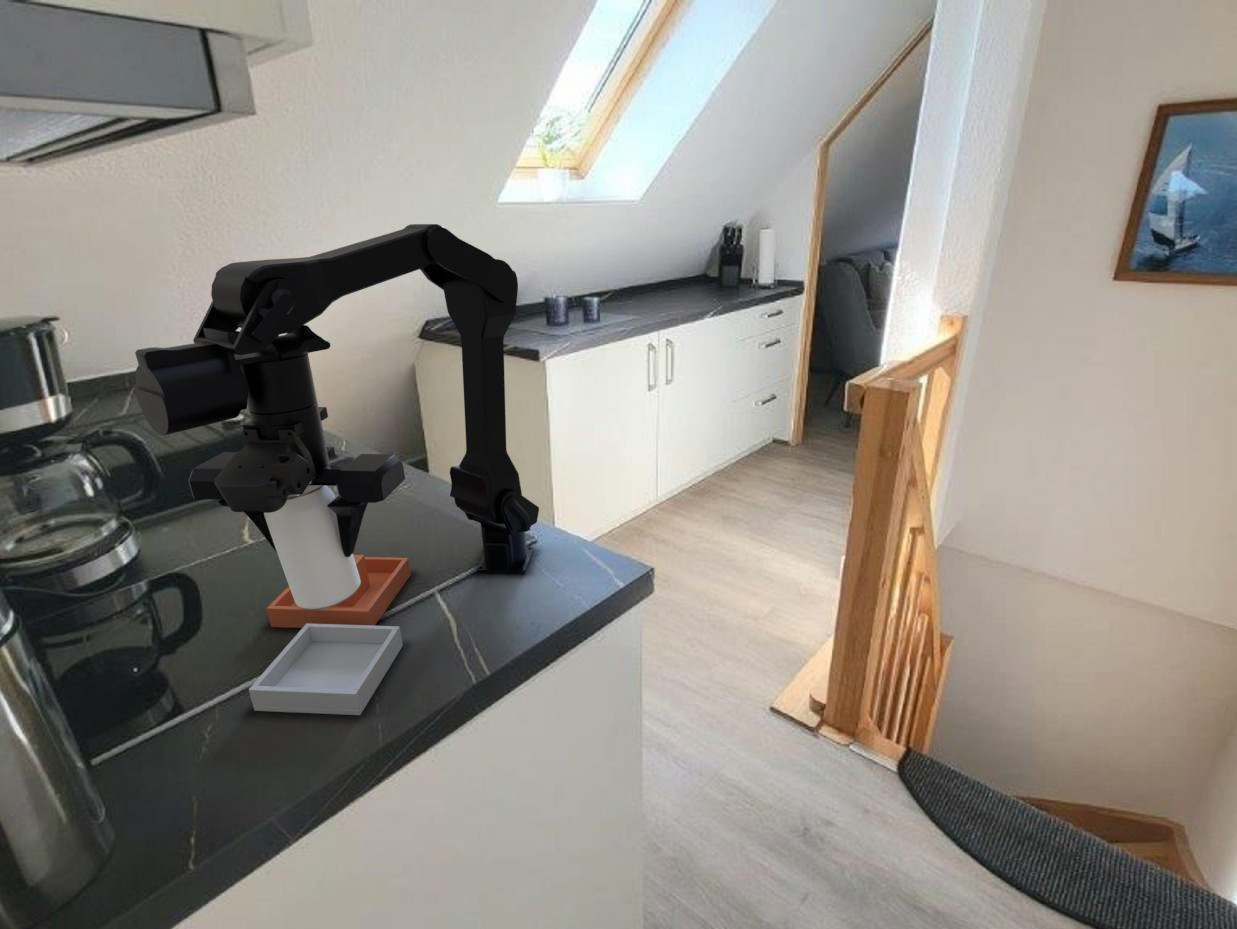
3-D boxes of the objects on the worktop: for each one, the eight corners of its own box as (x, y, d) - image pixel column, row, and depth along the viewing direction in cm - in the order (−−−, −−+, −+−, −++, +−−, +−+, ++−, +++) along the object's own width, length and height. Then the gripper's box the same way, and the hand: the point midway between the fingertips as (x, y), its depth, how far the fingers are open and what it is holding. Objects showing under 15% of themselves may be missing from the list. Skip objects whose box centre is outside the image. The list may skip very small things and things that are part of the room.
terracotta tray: (322, 572, 87) (319, 555, 86) (411, 574, 86) (408, 557, 85) (270, 627, 76) (266, 608, 75) (371, 630, 75) (368, 611, 74)
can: (370, 574, 70) (339, 471, 66) (349, 607, 64) (313, 497, 60) (311, 581, 70) (277, 479, 66) (284, 615, 64) (244, 506, 60)
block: (336, 584, 83) (329, 554, 82) (370, 585, 83) (364, 554, 81) (318, 604, 79) (311, 572, 77) (354, 606, 79) (347, 573, 77)
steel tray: (310, 642, 73) (306, 623, 72) (403, 645, 72) (399, 626, 71) (254, 711, 63) (248, 689, 62) (360, 715, 62) (355, 694, 61)
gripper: (119, 432, 53) (171, 595, 59) (338, 435, 52) (370, 602, 57) (210, 395, 63) (247, 537, 69) (395, 396, 62) (417, 541, 68)
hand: (316, 554), depth 66 cm, fingers closed on can, 7 cm apart
